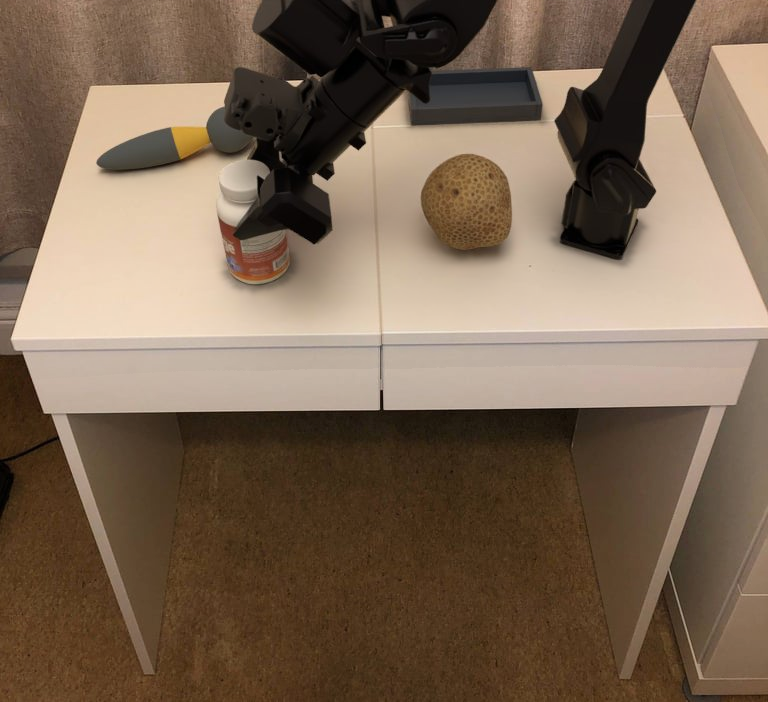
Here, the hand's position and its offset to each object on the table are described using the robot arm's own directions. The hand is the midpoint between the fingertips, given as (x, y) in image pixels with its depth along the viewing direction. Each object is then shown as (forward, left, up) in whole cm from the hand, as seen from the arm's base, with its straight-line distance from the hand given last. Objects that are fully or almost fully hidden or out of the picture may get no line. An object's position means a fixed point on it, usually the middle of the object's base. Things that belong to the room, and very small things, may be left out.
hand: (236, 214), depth 82 cm
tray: (-9, -37, -7) cm, 38 cm away
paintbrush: (+16, -13, -7) cm, 21 cm away
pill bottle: (-1, -1, -7) cm, 7 cm away
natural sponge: (-18, -13, -7) cm, 23 cm away
